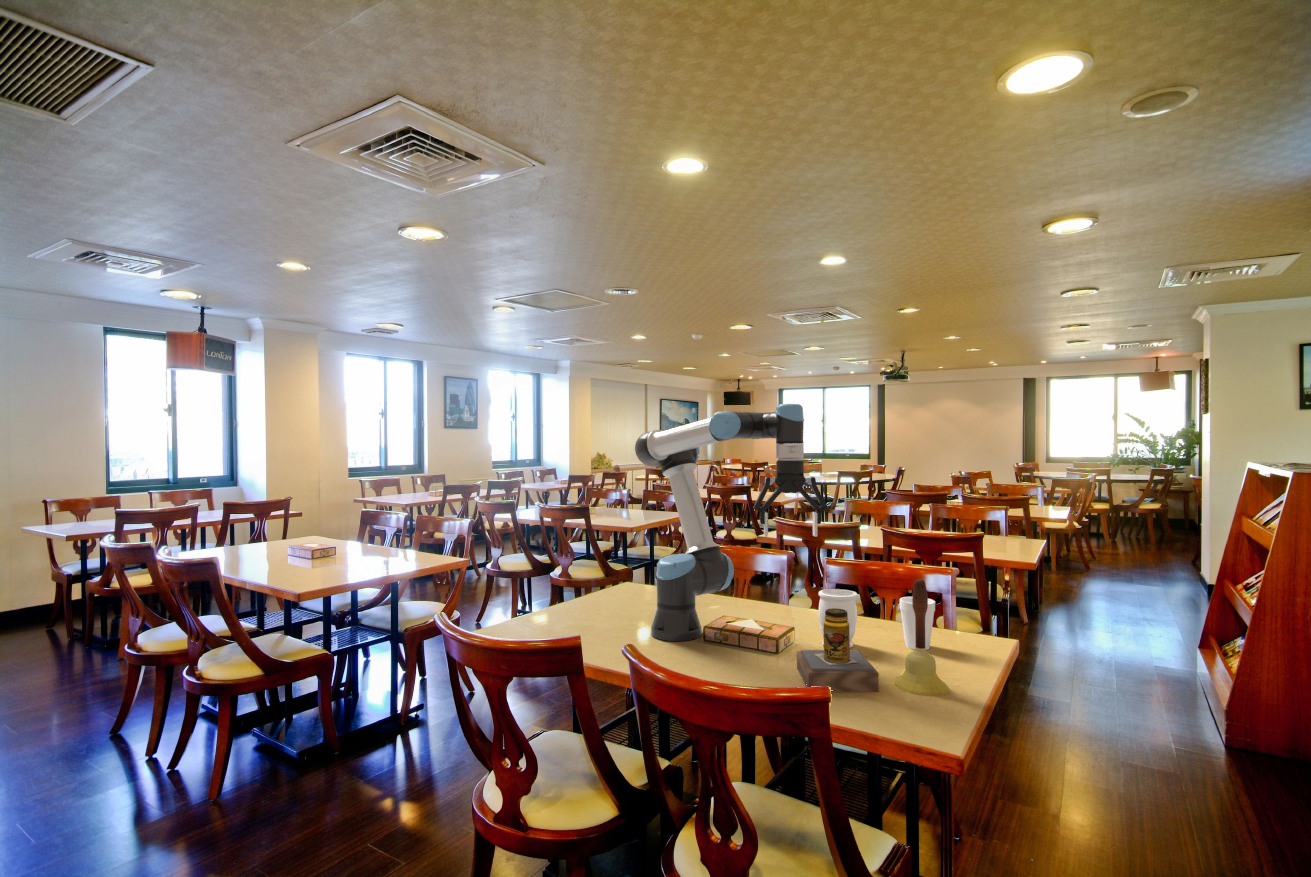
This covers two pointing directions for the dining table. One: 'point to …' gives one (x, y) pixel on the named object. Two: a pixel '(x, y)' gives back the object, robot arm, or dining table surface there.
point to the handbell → (920, 654)
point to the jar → (839, 607)
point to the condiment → (836, 638)
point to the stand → (838, 672)
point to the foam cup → (909, 622)
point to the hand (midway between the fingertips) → (790, 536)
